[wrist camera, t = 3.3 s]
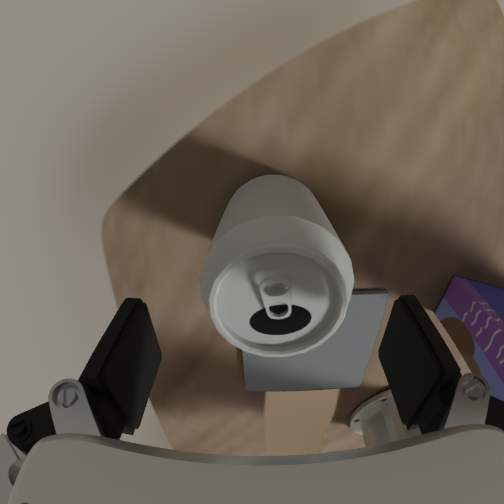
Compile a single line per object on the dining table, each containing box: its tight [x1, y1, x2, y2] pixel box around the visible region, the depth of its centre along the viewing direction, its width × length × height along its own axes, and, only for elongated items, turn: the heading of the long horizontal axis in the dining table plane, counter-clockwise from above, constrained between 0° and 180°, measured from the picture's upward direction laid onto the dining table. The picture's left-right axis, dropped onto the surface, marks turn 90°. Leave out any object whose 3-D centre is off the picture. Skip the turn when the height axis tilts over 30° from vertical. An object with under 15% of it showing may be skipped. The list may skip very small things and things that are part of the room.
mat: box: [242, 290, 389, 391], centre depth 29 cm, size 14×14×1 cm
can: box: [200, 175, 354, 357], centre depth 18 cm, size 8×8×12 cm
